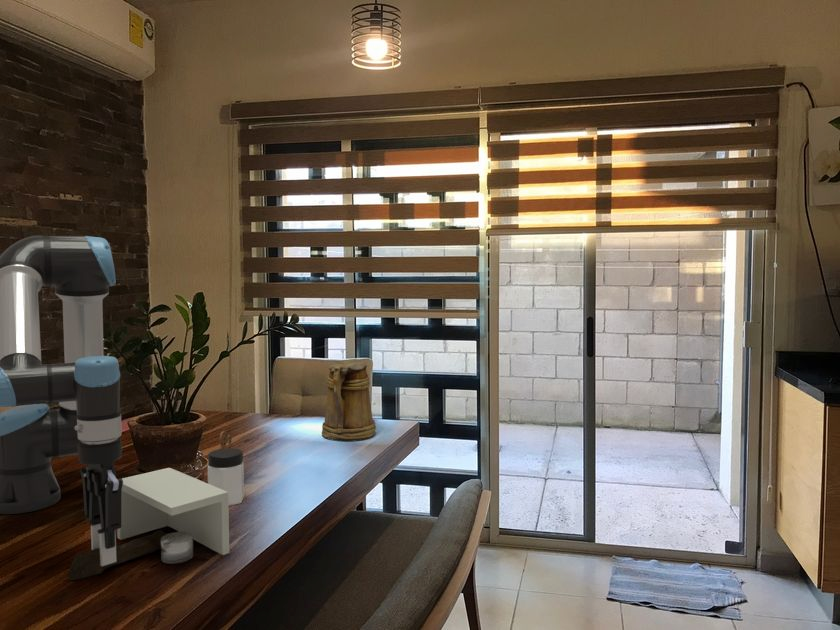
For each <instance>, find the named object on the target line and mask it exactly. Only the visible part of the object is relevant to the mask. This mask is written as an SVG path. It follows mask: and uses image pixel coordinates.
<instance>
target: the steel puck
mask: <svg viewBox="0 0 840 630" xmlns="http://www.w3.org/2000/svg"><path fill="white" fill-rule="evenodd" d="M193 557H194V540H193V535H192V534H191V533H188V532H179V531H175V532H170V533H166V535H165V536H163V537H162V538H161V549H160V560H161V562H163V563H165V564H172V565H174V564H175V565H176V564H180V563H184V562H187V561H189V560H191V559H192V558H193Z"/></svg>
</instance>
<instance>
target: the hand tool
mask: <svg viewBox="0 0 840 630" xmlns="http://www.w3.org/2000/svg"><path fill="white" fill-rule="evenodd" d="M165 535H167V533H166V532H164V531H163V530H162V529H158V530H156V531H155V532H154V533H151V534H149V535H144V536H142V537H138V538H135V539H134V538H133V539H132V540H130V541H129V542H126V543H125V542H124V543H122V544H118V545H116V560H117V562H114V563H111V564H108V565H105V566H101V565H100V548H97V549H93V550H92V549H91V550H88V551H84V552H82V553H79V554H77V555H75V557H74V558H73V559H72V562H71V564H70V567H69V570H68V578H69V579H68V580H69V581H75V580H82V579H86V578H89V577H93V576H96V575H100V574H102V573H103V572H104V571H105V570H107V569H108V568H110V567H113V566H116V565H119V564H123V563H125V562H127V561H130V560H134V559H137V558H140V557H143V556H145V555H149V554H151V553H155V552H156V551H161V538H162V537H163V536H165Z"/></svg>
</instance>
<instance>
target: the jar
mask: <svg viewBox="0 0 840 630" xmlns="http://www.w3.org/2000/svg"><path fill="white" fill-rule="evenodd" d="M225 448H226V447H225ZM243 453H244V452H243V450H241V449H240V448H234V447H233V448H230V447H229V448H226V449H222V448H220V449H218V450H217V449H214V450H212V451H210V452H209V453H208V454H207V460H208V466H207V484H210V485H212V486H215V487H217V488H219V489H222V490H224V491H227V492H228V507H230V506H234V505H239V504H241V503H242V502H243V500H244V497H245V476H244V475H245V473H244V472H245V471H244V470H245V469H244V467H245V466H244V454H243Z"/></svg>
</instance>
